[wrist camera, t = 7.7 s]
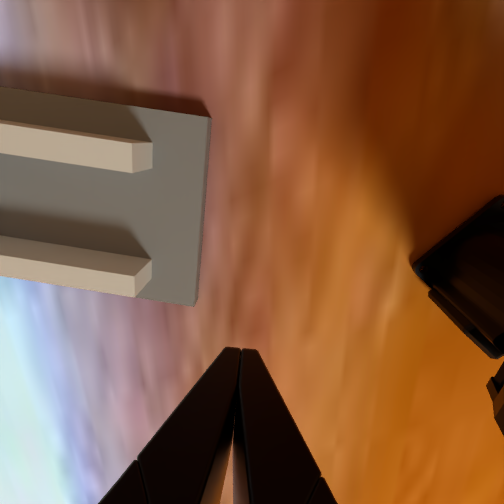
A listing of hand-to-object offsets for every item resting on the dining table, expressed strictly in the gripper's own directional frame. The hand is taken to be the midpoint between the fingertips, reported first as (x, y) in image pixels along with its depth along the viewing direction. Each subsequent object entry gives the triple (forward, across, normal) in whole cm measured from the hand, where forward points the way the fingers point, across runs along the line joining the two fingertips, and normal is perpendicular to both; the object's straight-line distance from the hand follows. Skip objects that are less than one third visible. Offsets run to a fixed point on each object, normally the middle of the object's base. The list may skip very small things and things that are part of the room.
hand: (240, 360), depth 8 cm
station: (+12, +14, -1) cm, 18 cm away
